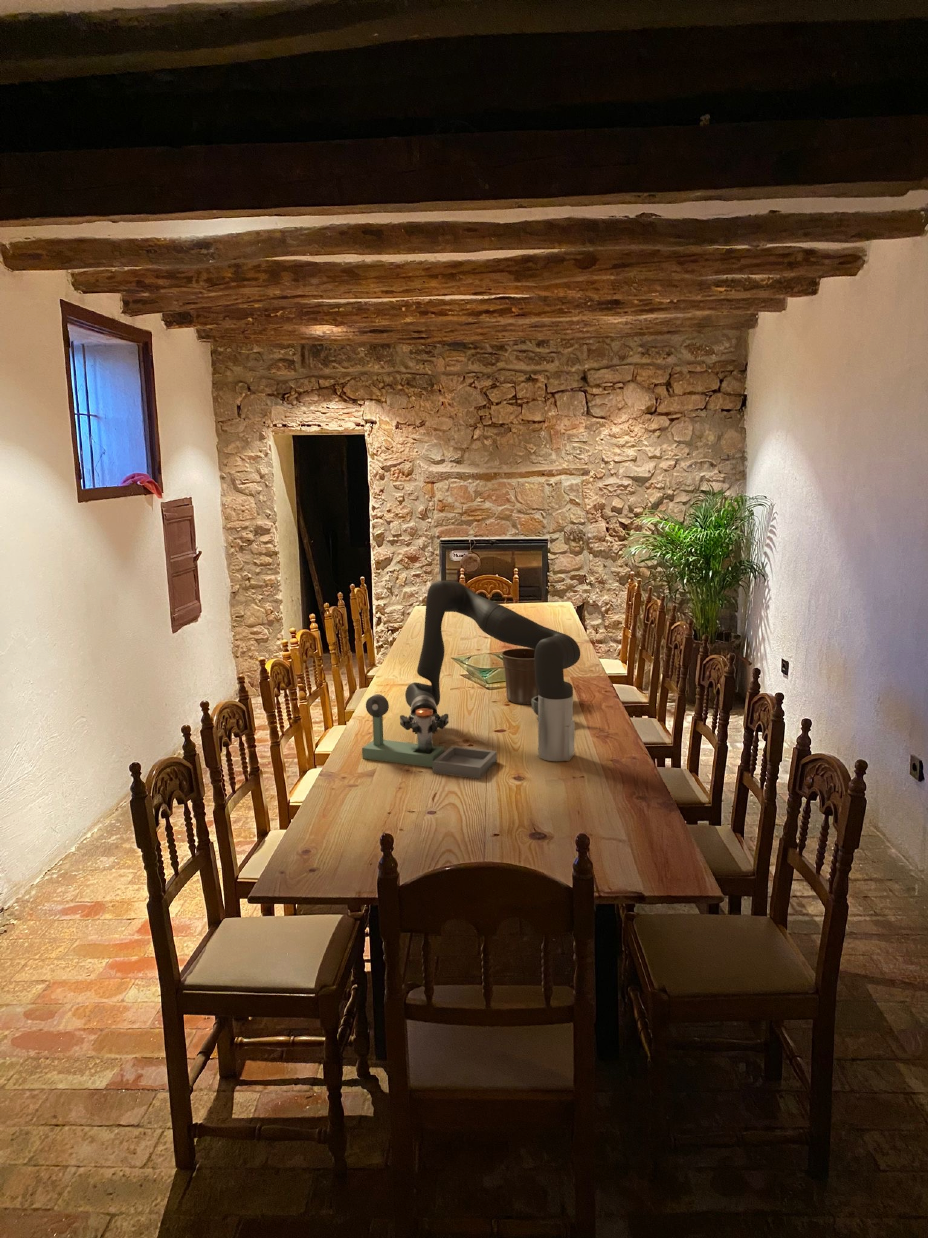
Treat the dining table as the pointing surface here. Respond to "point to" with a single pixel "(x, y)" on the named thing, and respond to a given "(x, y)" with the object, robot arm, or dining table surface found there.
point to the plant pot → (520, 675)
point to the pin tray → (465, 762)
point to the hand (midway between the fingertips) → (424, 730)
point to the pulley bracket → (393, 749)
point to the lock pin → (424, 730)
